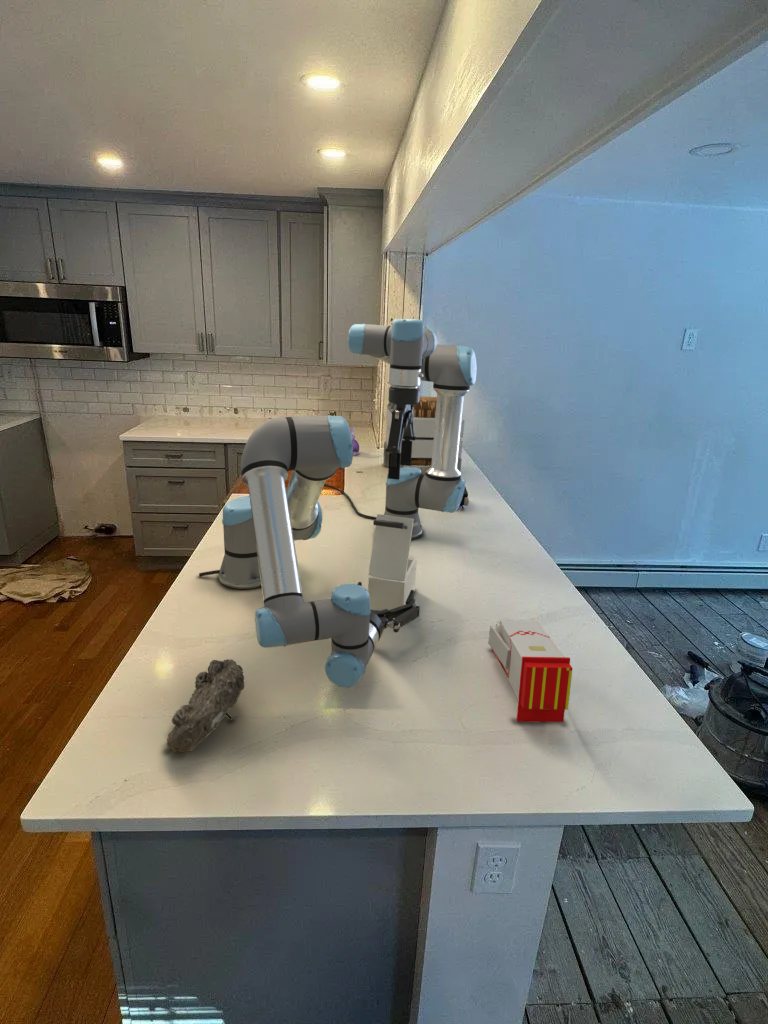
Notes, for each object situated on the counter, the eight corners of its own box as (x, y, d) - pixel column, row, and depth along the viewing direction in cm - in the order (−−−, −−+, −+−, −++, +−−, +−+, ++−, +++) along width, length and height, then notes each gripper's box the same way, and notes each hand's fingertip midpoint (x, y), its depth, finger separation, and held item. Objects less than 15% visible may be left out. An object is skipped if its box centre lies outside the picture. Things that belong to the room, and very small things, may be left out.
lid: (377, 514, 146) (370, 511, 138) (413, 519, 144) (408, 516, 136) (369, 575, 145) (361, 575, 137) (405, 580, 143) (399, 581, 135)
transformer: (382, 463, 289) (386, 382, 275) (445, 464, 293) (451, 384, 279) (390, 482, 257) (394, 392, 243) (460, 483, 261) (468, 394, 247)
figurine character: (468, 514, 225) (463, 498, 239) (470, 497, 222) (465, 482, 235) (451, 514, 225) (447, 498, 238) (453, 497, 222) (449, 481, 235)
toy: (535, 605, 135) (581, 664, 106) (530, 657, 138) (574, 728, 108) (484, 604, 135) (517, 662, 105) (480, 656, 137) (511, 727, 108)
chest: (382, 585, 162) (383, 554, 159) (414, 590, 160) (416, 559, 157) (367, 611, 148) (368, 577, 145) (402, 617, 146) (404, 583, 143)
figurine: (347, 456, 298) (347, 428, 293) (339, 452, 307) (339, 424, 302) (363, 455, 303) (364, 427, 298) (355, 450, 311) (356, 423, 306)
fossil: (192, 660, 117) (244, 628, 112) (224, 691, 120) (276, 661, 115) (142, 746, 98) (202, 712, 93) (182, 779, 101) (242, 748, 96)
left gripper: (309, 639, 128) (338, 596, 148) (417, 658, 123) (433, 611, 142) (309, 609, 126) (339, 570, 145) (420, 628, 120) (435, 584, 140)
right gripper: (409, 394, 124) (403, 487, 131) (429, 382, 147) (423, 461, 154) (376, 391, 126) (372, 483, 133) (400, 379, 148) (396, 458, 156)
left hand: (386, 590), depth 144 cm, fingers open, 13 cm apart
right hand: (399, 471), depth 143 cm, fingers open, 13 cm apart
